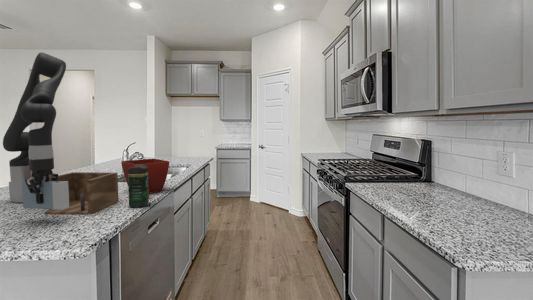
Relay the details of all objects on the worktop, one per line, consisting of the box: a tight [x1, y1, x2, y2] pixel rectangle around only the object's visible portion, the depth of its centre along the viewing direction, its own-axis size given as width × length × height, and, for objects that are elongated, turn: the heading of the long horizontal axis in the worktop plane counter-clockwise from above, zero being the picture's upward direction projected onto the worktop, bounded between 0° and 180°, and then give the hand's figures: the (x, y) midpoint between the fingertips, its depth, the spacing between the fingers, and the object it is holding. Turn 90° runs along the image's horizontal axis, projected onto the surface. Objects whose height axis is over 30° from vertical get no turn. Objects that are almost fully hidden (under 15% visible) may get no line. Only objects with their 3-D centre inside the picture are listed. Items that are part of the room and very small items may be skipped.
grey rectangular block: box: [22, 181, 69, 210], centre depth 116 cm, size 16×4×10 cm, turn 87°
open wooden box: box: [43, 171, 119, 215], centre depth 136 cm, size 22×21×14 cm
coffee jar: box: [128, 165, 150, 209], centre depth 139 cm, size 10×8×19 cm
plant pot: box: [121, 158, 170, 194], centre depth 168 cm, size 19×19×17 cm
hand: (43, 202), depth 117 cm, fingers closed on grey rectangular block, 3 cm apart
